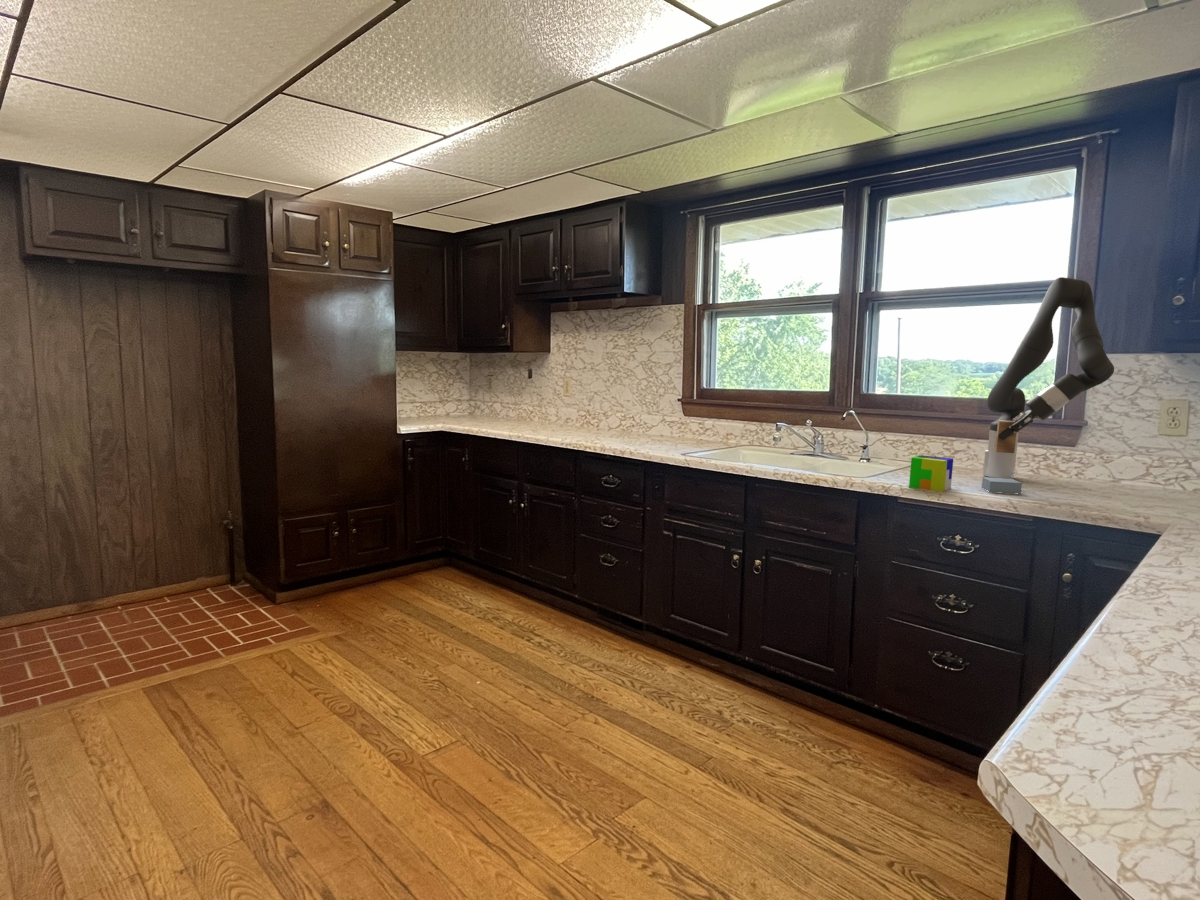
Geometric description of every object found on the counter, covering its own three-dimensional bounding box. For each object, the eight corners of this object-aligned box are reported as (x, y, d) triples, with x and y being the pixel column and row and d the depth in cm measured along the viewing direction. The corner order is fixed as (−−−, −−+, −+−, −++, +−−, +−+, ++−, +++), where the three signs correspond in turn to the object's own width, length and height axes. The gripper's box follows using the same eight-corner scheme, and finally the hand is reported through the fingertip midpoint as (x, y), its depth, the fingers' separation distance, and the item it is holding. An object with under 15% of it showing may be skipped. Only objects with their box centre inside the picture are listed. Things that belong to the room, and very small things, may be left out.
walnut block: (996, 452, 217) (999, 421, 216) (994, 450, 222) (998, 420, 220) (1014, 453, 215) (1017, 422, 214) (1012, 451, 220) (1015, 421, 218)
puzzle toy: (950, 488, 224) (953, 458, 222) (941, 491, 216) (944, 461, 215) (919, 484, 230) (921, 455, 229) (908, 487, 223) (911, 457, 222)
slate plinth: (989, 493, 217) (990, 481, 217) (981, 488, 226) (982, 477, 225) (1020, 495, 215) (1021, 483, 214) (1011, 490, 224) (1012, 478, 223)
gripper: (1035, 392, 219) (988, 426, 226) (1041, 394, 206) (992, 430, 213) (1052, 409, 218) (1005, 443, 224) (1060, 412, 205) (1010, 448, 212)
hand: (999, 437), depth 219 cm, fingers closed on walnut block, 5 cm apart
